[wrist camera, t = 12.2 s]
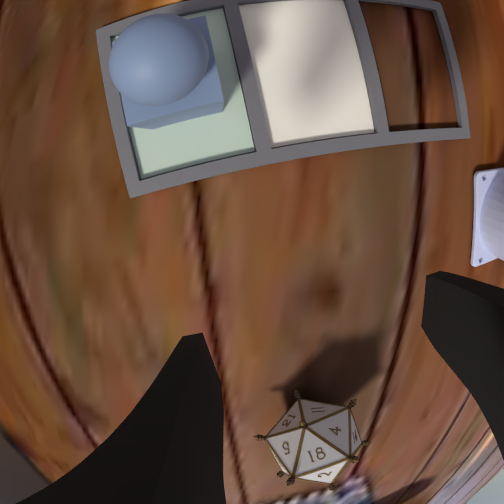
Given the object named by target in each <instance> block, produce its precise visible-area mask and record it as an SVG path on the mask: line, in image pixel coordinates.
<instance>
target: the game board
mask: <svg viewBox="0 0 504 504" xmlns="http://www.w3.org/2000/svg"><path fill="white" fill-rule="evenodd" d="M276 1H277V2H276ZM359 1H363V2H374V3H383V4H392V5H399V6H405V7H412V8H417V9H423V10H428V11H432V12H433V15H434V18H435V21H436V24H437V28H438V31H439V35H440V38H441V42H442V45H443V49H444V53H445V57H446V61H447V66H448V70H449V75H450V80H451V85H452V90H453V96H454V102H455V108H456V115H457V123H458V128H435V129H418V130H405V131H393V132H389V128H388V121H387V115H386V109H385V104H384V99H383V93H382V88H381V83H380V79H379V74H378V70H377V65H376V61H375V57H374V53H373V49H372V45H371V41H370V38H369V34H368V31H367V27H366V24H365V20H364V17H363V14H362V11H361V7H360V4H359ZM255 3H256V4H255ZM239 5H240V6H239ZM223 8H224V11H223ZM199 12H200V13H199ZM224 12H225V15H224ZM160 13H167V14H174V15H178V16H181V17H184V18H186V19H191V18H195V17H200V16H205V15H206V20H207V24H208V29H209V34H210V38H211V43H212V47H213V52H214V57H215V61H216V66H217V70H218V75H219V80H220V84H221V89H222V94H223V98H224V105H223V112H220V113H216V114H211V115H207V116H203V117H198V118H194V119H190V120H186V121H182V122H178V123H175V124H171V125H167V126H164V127H160V128H157V129H153V130H151V129H144V128H136V127H128V126H127V123H126V118H125V113H124V108H123V103H122V98H121V93H120V92H119V91H118V89H117V88H116V86H115V85H114V83H113V81H112V79H111V76H110V72H109V57H110V52H111V49H112V47H113V45H112V42H113V41H116V39H117V38H118V36H119V35H120V34H121V32H122V31H123V30H124V29H125V28H126V27H128V26H129V25H130V24H132V23H133V22H135V21H136V20H139V19H141V18H143V17H146V16H149V15H153V14H160ZM225 16H226V19H225ZM226 20H227V23H226ZM227 24H228V27H227ZM228 29H229V32H228ZM229 33H230V36H229ZM96 36H97V44H98V51H99V58H100V64H101V71H102V77H103V83H104V88H105V94H106V99H107V104H108V109H109V114H110V119H111V124H112V128H113V133H114V137H115V142H116V146H117V150H118V154H119V158H120V162H121V166H122V170H123V174H124V178H125V182H126V185H127V189H128V192H129V196H130V198H133V197H137V196H140V195H144V194H147V193H151V192H154V191H158V190H162V189H165V188H169V187H173V186H176V185H180V184H184V183H188V182H192V181H196V180H200V179H204V178H208V177H213V176H217V175H221V174H225V173H230V172H234V171H239V170H243V169H248V168H253V167H258V166H262V165H267V164H272V163H278V162H283V161H288V160H293V159H299V158H305V157H310V156H316V155H322V154H329V153H335V152H341V151H348V150H355V149H363V148H370V147H378V146H386V145H395V144H404V143H414V142H425V141H437V140H451V139H467V138H470V129H469V121H468V113H467V106H466V100H465V94H464V88H463V83H462V78H461V73H460V68H459V64H458V60H457V56H456V52H455V48H454V44H453V40H452V37H451V33H450V30H449V26H448V23H447V20H446V17H445V14H444V11H443V8H442V5H441V3H440V2H436V1H432V0H294V1H293V0H189V1H185V2H181V3H176V4H172V5H169V6H165V7H161V8H158V9H154V10H151V11H148V12H144V13H141V14H138V15H135V16H132V17H129V18H126V19H123V20H121V21H118V22H115V23H112V24H110V25H107V26H105V27H102V28H100V29H97V30H96ZM230 37H231V40H230ZM112 38H113V41H112ZM231 41H232V45H231ZM232 46H233V49H232ZM233 50H234V53H233ZM234 54H235V58H234ZM235 59H236V62H235ZM236 63H237V66H236ZM237 68H238V71H237ZM238 72H239V75H238ZM239 76H240V80H239ZM240 81H241V84H240ZM241 85H242V89H241ZM242 90H243V93H242ZM243 94H244V98H243ZM244 99H245V102H244ZM245 104H246V107H245ZM246 108H247V112H246ZM247 113H248V116H247ZM248 117H249V121H248ZM249 122H250V125H249ZM250 127H251V130H250ZM129 130H130V132H129ZM251 131H252V135H251ZM366 133H373V134H366ZM130 134H131V136H130ZM358 134H364V135H358ZM350 135H355V136H350ZM252 136H253V140H252ZM342 136H347V137H342ZM335 137H340V138H335ZM327 138H333V139H327ZM131 139H132V140H131ZM321 139H326V140H321ZM314 140H319V141H314ZM253 141H254V144H253ZM308 141H313V142H308ZM302 142H306V143H302ZM132 143H133V145H132ZM296 143H300V144H296ZM290 144H294V145H290ZM284 145H289V146H284ZM254 146H255V149H254ZM279 146H283V147H279ZM133 147H134V149H133ZM273 147H277V148H273ZM271 148H272V149H271ZM255 150H256V152H253V151H255ZM134 151H135V153H134ZM248 152H252V153H248ZM243 153H247V154H243ZM239 154H242V155H239ZM135 155H136V157H135ZM234 155H238V156H234ZM229 156H233V157H229ZM225 157H228V158H225ZM221 158H224V159H221ZM136 159H137V161H136ZM216 159H220V160H216ZM212 160H215V161H212ZM208 161H211V162H208ZM204 162H207V163H204ZM137 163H138V165H137ZM200 163H203V164H200ZM196 164H199V165H196ZM192 165H195V166H192ZM188 166H191V167H188ZM138 167H139V169H138ZM184 167H187V168H184ZM180 168H183V169H180ZM176 169H179V170H176ZM172 170H175V171H172ZM139 171H140V173H139ZM169 171H172V172H169ZM165 172H168V173H165ZM161 173H164V174H161ZM158 174H161V175H158ZM140 175H141V177H140ZM154 175H157V176H154ZM151 176H154V177H151ZM147 177H150V178H147ZM144 178H147V179H144ZM141 179H143V180H141Z"/></svg>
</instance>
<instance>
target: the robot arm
mask: <svg viewBox="0 0 504 504" xmlns="http://www.w3.org/2000/svg"><path fill="white" fill-rule="evenodd" d="M482 177H483V179H482ZM497 258H500V259H501V260H503V261H504V168H497V169H490V170H482V171H477V172H475V174H474V222H473V240H472V253H471V265H472V266H474V267H477V266H479V265H482V264H484V263H487V262H489V261H492V260H494V259H497ZM421 327H422V328H423V330H424V332H425V333H426V335H427V337H428V338H429V340H430V342H431V343H432V345H433V346H434V348H435V349H436V351H437V352H438V353H439V354H440V356H441V357H442V358H443V359H444V360H445V362H446V363H447V364H448V365H449V367H450V368H451V369H452V370H453V371H454V373H455V374H456V375H457V376H458V378H459V379H460V380H461V381H462V383H463V384H464V385H465V386H466V388H467V389H468V390H469V392H470V393H471V394H472V396H473V397H474V399H475V400H476V402H477V404H478V405H479V407H480V409H481V411H482V412H483V414H484V416H485V418H486V420H487V422H488V424H489V426H490V428H491V430H492V432H493V434H494V436H495V439H496V441H497V444H498V446H499V449H500V452H501V454H502V457H503V460H504V289H503V288H500V287H496V286H493V285H490V284H486V283H483V282H480V281H477V280H474V279H470V278H467V277H464V276H460V275H456V274H452V273H448V272H443V271H439V272H436V273H433V274H430V275H427V276H426V286H425V297H424V308H423V317H422V325H421ZM223 424H224V409H223V399H222V391H221V382H220V379H219V376H218V374H217V371H216V369H215V366H214V363H213V360H212V358H211V355H210V352H209V349H208V347H207V344H206V341H205V338H204V335H203V333H198V334H193V335H188V336H183V337H182V338H181V340H180V341H179V343H178V344H177V346H176V347H175V349H174V351H173V352H172V354H171V355H170V357H169V359H168V360H167V362H166V363H165V365H164V366H163V368H162V370H161V371H160V373H159V374H158V376H157V377H156V379H155V380H154V382H153V383H152V385H151V386H150V388H149V389H148V390H147V392H146V393H145V394H144V396H143V397H142V398H141V400H140V401H139V402H138V404H137V405H136V406H135V408H134V409H133V410H132V412H131V413H130V414H129V415H128V416H127V418H126V419H125V420H124V421H123V422H122V423H121V424H120V425H119V427H118V428H117V429H116V430H115V431H114V432H113V433H112V434H111V435H110V436H109V437H108V438H107V439H106V440H105V441H104V442H103V443H102V444H101V445H100V446H99V447H98V448H96V449H95V450H94V451H93V452H92V453H91V454H90V455H89V456H88V457H87V458H85V459H84V460H83V461H82V462H81V463H80V464H78V465H77V466H76V467H74V468H73V469H72V470H71V471H69V472H68V473H67V474H65V475H64V476H62V477H61V478H59V479H58V480H57V481H55V482H54V483H52V484H51V485H49V486H47V487H46V488H44V489H43V490H41V491H39V492H37V493H35V494H33V495H32V496H30V497H28V498H26V499H24V500H22V501H20V502H18V503H16V504H226V499H225V491H224V481H223Z"/></svg>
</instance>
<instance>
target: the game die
mask: <svg viewBox="0 0 504 504" xmlns="http://www.w3.org/2000/svg"><path fill="white" fill-rule="evenodd" d="M293 395H294V396H295V398H296V399H297V400H296V401H295V402H294V404H293V405H292V406H291V407H290V408H289V410H288V411H287V412H286V413H285V414H284V416H283V417H282V418H281V419H280V420H279V421H278V422H277V424H276V425H275V426H274V427H273V428H272V429H271V430H270V432H269V433H268V434H267V435H266V436H262V435H259V434H258V435H256V436H253V437H255V438H256V439H257V440H260V441H261V440H265V442H266V443H267V445H268V447H269V449H270V451H271V453H272V454H273V456H274V458H275V460H276V462H277V463H278V465H279V467H280V469H281V470H282V471H279V473H277V477H282V476H283V475H284V473H285V474H286V475H288V476H290V478H289V479H288V480H287V481H286V482H287V486H289V485H291V484H293V482H295V481H294V480H295V479H297V480H303V481H309V482H316V483H323V484H329V488H330V489H329V490H331V491H333V492H334V491H335V488H336V487H335V485H334V484H333V482H334V481H335V480H336V478H337V477H338V476H339V475H340V473H341V472H342V471H343V470H344V468H345V467H346V466H347V464H348V463H349V462H350V461H351V462H353V463H355V462H357V461H359V460H358V457H356V456H354V455H355V454H356V452H357V451H358V450H359V448H360V447H361V445H363V446H368V445H369V444H371V443H370V442H369V441H368V440H367V441H365V440H364V441H363V442H362V441H361V438H360V435H359V432H358V429H357V426H356V423H355V420H354V417H353V414H352V411H351V408H352V407H354V405H356V400H357V399H354V400H351V402H349V405H348V406H345V405H338V404H331V403H325V402H319V401H313V400H307V399H302V398H300V395H301V394H300V392H298V391H297V390H296V389H295V391H294V394H293Z"/></svg>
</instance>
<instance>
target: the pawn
mask: <svg viewBox="0 0 504 504" xmlns="http://www.w3.org/2000/svg"><path fill="white" fill-rule="evenodd" d="M112 45H113V47H112V49H111V52H110V57H109V72H110V76H111V79H112V81H113V83H114V85H115V86H116V88H117V89H118V91H119V92H120V93H121V98H122V103H123V108H124V113H125V118H126V123H127V126H128V127H136V128H144V129H151V130H153V129H157V128H160V127H164V126H167V125H171V124H175V123H178V122H182V121H186V120H190V119H194V118H198V117H203V116H207V115H211V114H216V113H220V112H223V105H224V98H223V94H222V89H221V84H220V80H219V75H218V70H217V66H216V61H215V57H214V52H213V47H212V43H211V38H210V34H209V29H208V24H207V20H206V15H205V16H200V17H195V18H191V19H186V18H184V17H181V16H178V15H174V14H167V13H160V14H153V15H149V16H146V17H143V18H141V19H139V20H136V21H135V22H133V23H132V24H130V25H129V26H128V27H126V28H125V29H124V30H123V31H122V32H121V34H120V35H119V36H118V38H117V39H116V41H113V42H112Z"/></svg>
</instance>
